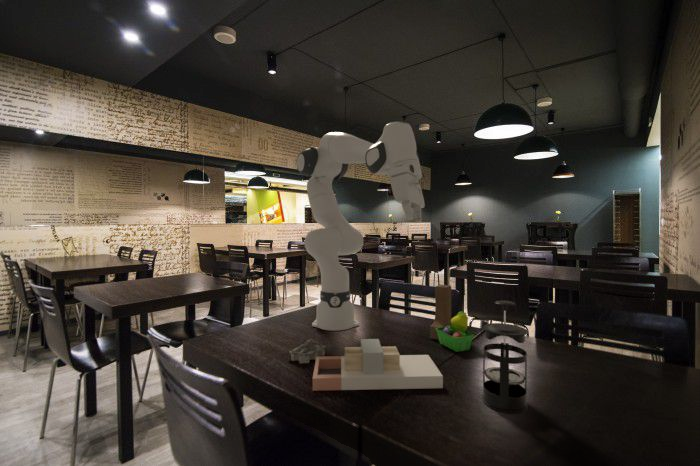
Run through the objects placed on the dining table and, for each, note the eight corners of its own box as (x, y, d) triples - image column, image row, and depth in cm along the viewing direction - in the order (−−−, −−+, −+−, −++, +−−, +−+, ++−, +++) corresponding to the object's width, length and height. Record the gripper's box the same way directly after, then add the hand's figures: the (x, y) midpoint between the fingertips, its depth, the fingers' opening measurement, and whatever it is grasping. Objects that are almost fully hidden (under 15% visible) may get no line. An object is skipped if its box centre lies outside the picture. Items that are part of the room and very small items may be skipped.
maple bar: (344, 361, 95) (344, 347, 95) (395, 360, 95) (395, 346, 95) (345, 370, 89) (345, 355, 89) (399, 369, 89) (399, 354, 89)
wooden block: (441, 341, 120) (441, 289, 120) (429, 338, 123) (429, 287, 122) (451, 334, 127) (451, 285, 127) (439, 332, 130) (440, 284, 129)
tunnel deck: (316, 367, 99) (316, 337, 98) (428, 365, 100) (428, 336, 99) (312, 390, 85) (312, 356, 84) (442, 388, 86) (442, 354, 85)
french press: (528, 419, 72) (529, 308, 71) (480, 409, 76) (480, 304, 75) (526, 394, 82) (526, 297, 82) (483, 386, 86) (484, 294, 86)
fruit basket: (434, 342, 119) (434, 309, 118) (455, 339, 122) (455, 307, 122) (455, 354, 108) (455, 318, 108) (478, 350, 111) (478, 315, 111)
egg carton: (312, 350, 113) (312, 337, 113) (329, 355, 108) (329, 342, 108) (286, 359, 105) (286, 346, 105) (303, 366, 100) (303, 351, 100)
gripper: (405, 183, 112) (413, 225, 110) (384, 169, 94) (393, 219, 92) (424, 178, 110) (433, 221, 108) (406, 163, 91) (416, 214, 89)
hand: (414, 220), depth 100 cm, fingers open, 8 cm apart
